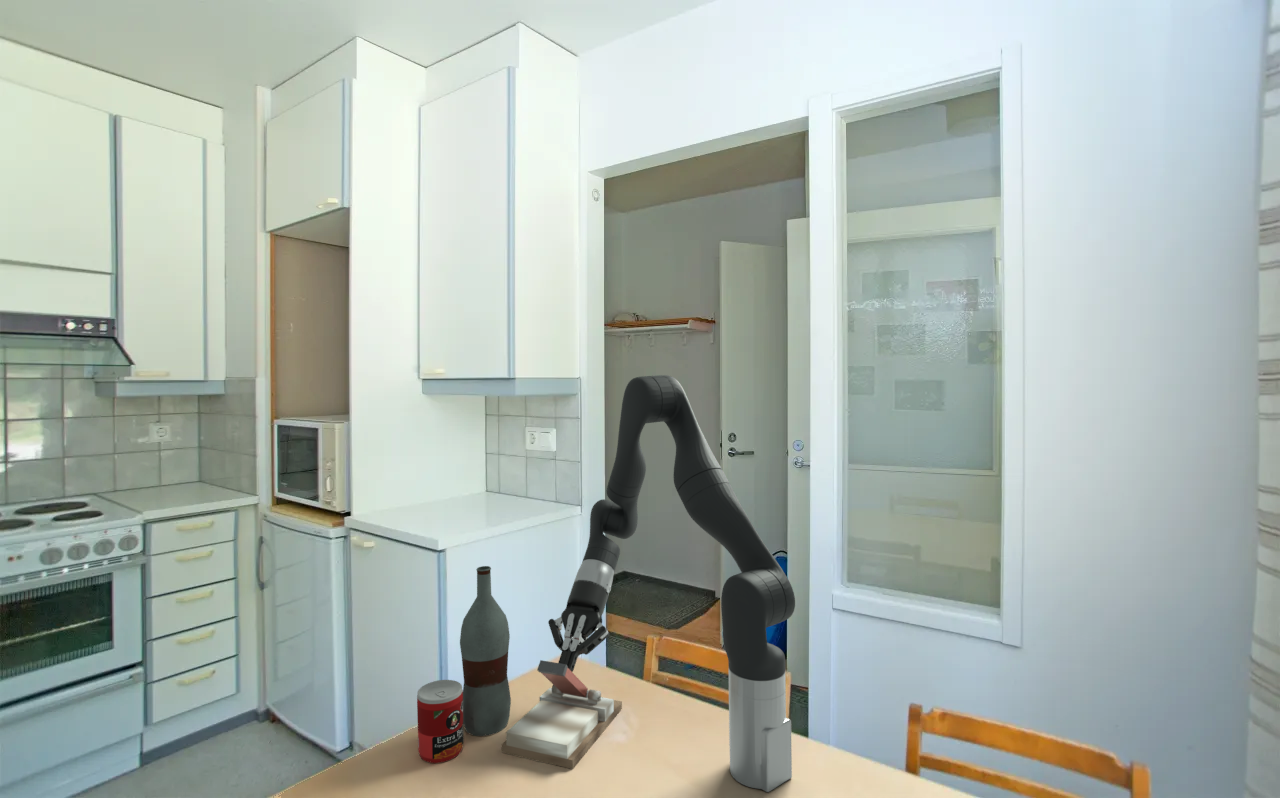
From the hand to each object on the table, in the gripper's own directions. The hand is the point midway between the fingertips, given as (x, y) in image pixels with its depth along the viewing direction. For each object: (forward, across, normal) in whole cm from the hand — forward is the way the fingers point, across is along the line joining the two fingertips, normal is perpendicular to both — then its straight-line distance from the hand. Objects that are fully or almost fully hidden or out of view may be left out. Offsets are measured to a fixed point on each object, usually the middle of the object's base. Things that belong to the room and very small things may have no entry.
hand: (563, 673), depth 117 cm
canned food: (+17, -18, -2) cm, 25 cm away
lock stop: (+1, 0, +8) cm, 8 cm away
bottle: (+10, -15, +6) cm, 19 cm away
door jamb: (+7, 0, +8) cm, 11 cm away
